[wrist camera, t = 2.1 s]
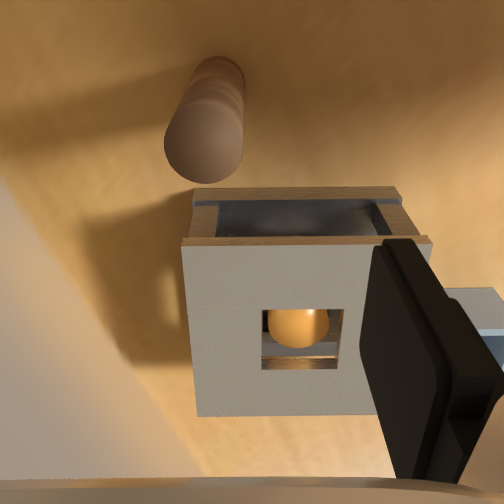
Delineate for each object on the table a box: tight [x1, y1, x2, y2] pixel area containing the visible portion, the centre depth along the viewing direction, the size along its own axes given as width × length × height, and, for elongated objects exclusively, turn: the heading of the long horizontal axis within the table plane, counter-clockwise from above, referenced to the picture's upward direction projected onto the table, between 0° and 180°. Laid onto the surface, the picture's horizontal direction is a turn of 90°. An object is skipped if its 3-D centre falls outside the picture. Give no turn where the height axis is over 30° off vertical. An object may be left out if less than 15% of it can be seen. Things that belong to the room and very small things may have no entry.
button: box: [268, 309, 329, 348], centre depth 32 cm, size 4×4×2 cm
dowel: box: [164, 57, 245, 184], centre depth 24 cm, size 3×3×12 cm
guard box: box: [181, 187, 433, 417], centre depth 33 cm, size 14×14×8 cm
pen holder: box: [443, 288, 504, 371], centre depth 37 cm, size 6×6×5 cm
